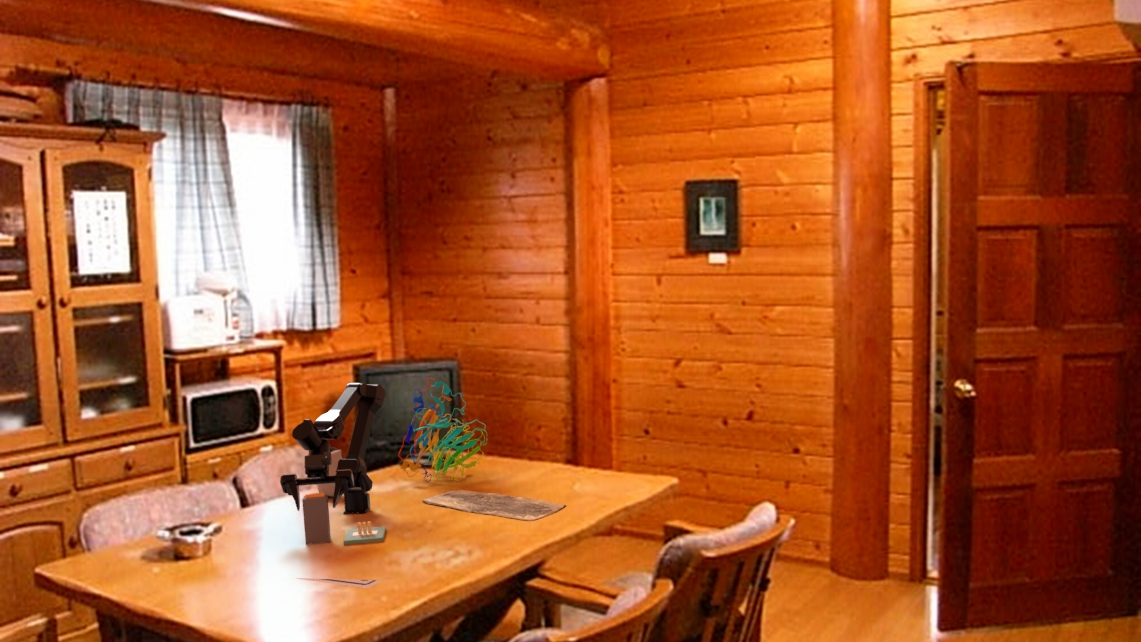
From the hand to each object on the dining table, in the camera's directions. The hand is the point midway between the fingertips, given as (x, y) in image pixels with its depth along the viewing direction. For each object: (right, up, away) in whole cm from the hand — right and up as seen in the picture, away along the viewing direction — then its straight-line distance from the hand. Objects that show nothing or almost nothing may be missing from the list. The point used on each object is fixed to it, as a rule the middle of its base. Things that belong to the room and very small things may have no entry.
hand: (315, 508), depth 265 cm
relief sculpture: (+44, -5, +28) cm, 53 cm away
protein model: (+26, -3, +68) cm, 72 cm away
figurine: (-8, -6, +50) cm, 51 cm away
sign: (+11, -11, -28) cm, 32 cm away
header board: (+13, -8, +1) cm, 15 cm away
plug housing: (+1, -9, 0) cm, 9 cm away
